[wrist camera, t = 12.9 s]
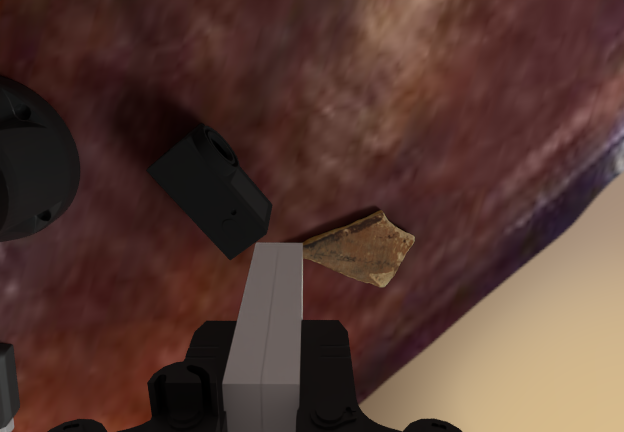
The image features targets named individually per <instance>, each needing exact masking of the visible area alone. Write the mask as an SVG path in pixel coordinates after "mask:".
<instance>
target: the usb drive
mask: <svg viewBox="0 0 624 432" xmlns="http://www.w3.org/2000/svg"><path fill="white" fill-rule="evenodd" d="M19 408H20V401H19V393H18V384H17V375H16V366H15V358H14V349H13V345H12V344H3V343H0V432H11V431H12V430H13V428H14V421H13V417H14V416H15V415H16V413H17V411H18V410H19Z"/></svg>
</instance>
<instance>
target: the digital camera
mask: <svg viewBox="0 0 624 432" xmlns="http://www.w3.org/2000/svg"><path fill="white" fill-rule="evenodd" d="M146 171H147V172H148V173H149V174H150V175H151V176H152V177H153V178H154V179H155V180H156V181H157V183H158V184H159V185H160V186H161V187H162V188H163V189H164V190H165V191H166V192H167V193H168V194H169V196H170V197H171V198H172V199H173V200H174V201H175V202H176V203H177V204H178V205H179V206H180V207H181V208H182V209H183V211H184V212H185V213H186V214H187V215H188V216H189V217H190V218H191V219H192V220H193V221H194V222H195V223H196V225H197V226H198V227H199V228H200V229H201V230H202V231H203V232H204V233H205V234H206V235H207V236H208V237H209V238H210V239H211V241H212V242H213V243H214V244H215V245H216V246H217V247H218V248H219V249H220V250H221V251H222V252H223V253H224V254H225V255H226V257H227V258H228V259H229V260H232V259H233V258H234V257H236V256H237V255H238V254H240V253H241V252H242V251H244V250H245V249H247V248H248V247H249V246H251V245H252V244H253V243H255V242H256V241H258V240H259V239H260V238H262V237H263V236H264V235H266V234H267V230H268V226H269V220H270V215H271V210H272V204H271V202H270V201H269V200H268V199H267V198H266V197H265V195H264V194H263V193H262V192H261V191H260V190H259V188H258V187H257V186H256V185H255V184H254V182H253V181H252V180H251V179H250V178H249V177H248V175H247V174H246V173H245V172H244V171H243V170H242V168H241V167H240V166H239V161H238V159H237V156H236V155H235V153H234V151H233V150H232V148H231V147H230V146H229V144H228V143H227V142H226V141H225V139H224V138H223V137H222V136H221V135H220V134H219V133H218V132H216V131H215V130H214V129H212V128H211V127H209V126H205V125H204V124H203V123H201V124H199V125H198V126H197V127H196V128H195V129H194V130H192V131H191V132H190V133H189V134H187V135H186V136H185V137H184V138H183V139H181V140H180V141H179V142H178V143H176V144H175V145H174V146H173V147H172V148H170V149H169V150H168V151H167V152H166V153H165V154H163V155H162V156H161V157H160V158H159V159H158V160H157V161H156V162H154V163H153V164H152V165H151V166H150V167H149V168H148V169H147V170H146Z"/></svg>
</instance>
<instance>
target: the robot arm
mask: <svg viewBox="0 0 624 432" xmlns="http://www.w3.org/2000/svg"><path fill="white" fill-rule="evenodd" d="M79 180H80V162H79V156H78V151H77V148H76V145H75V142H74V139H73V137H72V135H71V133H70V131H69V129H68V127H67V126H66V124H65V123H64V121H63V120H62V118H61V117H60V116H59V114H58V113H57V112H56V111H55V110H54V109H53V108H52V107H51V106H50V105H49V104H48V103H47V102H46V101H45V100H44V99H43V98H42V97H40V96H39V95H38V94H36V93H35V92H33V91H32V90H30V89H29V88H27V87H25V86H23V85H21V84H19V83H17V82H15V81H13V80H10V79H7V78H4V77H1V76H0V242H4V241H9V240H15V239H20V238H24V237H27V236H30V235H32V234H34V233H37V232H39V231H41V230H42V229H44V228H46V227H47V226H48V225H50V224H51V223H52V222H54V221H55V220H56V219H57V218H59V217H60V216H61V215H62V214H63V213H64V212H65V211H66V210H67V209H68V207H69V206H70V204H71V203H72V201H73V199H74V197H75V195H76V192H77V189H78V185H79ZM302 303H303V243H256V245H255V249H254V253H253V258H252V262H251V266H250V270H249V274H248V278H247V282H246V287H245V291H244V295H243V299H242V303H241V307H240V312H239V316H238V320H237V321H206V322H205V323H204V324H203V325H202V326H200V327H199V328H198V329H197V330H196V331H195V332H194V335H193V337H192V340H191V343H190V347H189V348H188V351H187V354H186V356H185V359H184V361H183V362H176V363H173V364H171V365H168V366H165V367H163V368H162V369H160V370H159V371H157V372H156V373H155V374H153V376H152V377H151V379H150V380H149V381H148V383H147V384H148V391H149V398H150V405H151V412H152V418H151V420H150V421H148V422H146V423H144V424H142V425H139V426H136V427H133V428H130V429H126V430H122V431H118V432H402V431H399V430H395V429H391V428H388V427H385V426H382V425H380V424H377V423H376V422H374V421H372V420H371V419H369V418H368V417H367V416H366V415H365V414H364V413H363V412H362V411H361V409H360V408H359V406H358V403H357V400H356V393H355V385H354V377H353V369H352V362H351V354H350V347H349V338H348V332H347V330H346V329H345V328H344V327H343V325H342V324H341V323H340V322H339V320H302ZM48 432H107V430H106V429H105V427H104V426H103V425H102V424H101V423H99V422H97V421H95V420H92V419H77V420H73V421H69V422H65V423H63V424H61V425H59V426H56V427H54V428H52V429H50V430H49V431H48ZM403 432H462V431H461V430H460V429H459V428H457V427H455V426H453V425H452V424H450V423H448V422H445V421H441V420H437V419H420V420H417V421H415V422H412V423H410V424H409V425H408V426H407V427H406V428H405V430H404V431H403Z"/></svg>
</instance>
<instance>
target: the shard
mask: <svg viewBox="0 0 624 432" xmlns="http://www.w3.org/2000/svg"><path fill="white" fill-rule="evenodd" d="M414 238H415V237H414V236H413V235H411V234H409V233H406V232H404V231H402V230H401V229H399V228H397V227H395V226H394V225H393V224H392V223H390V222H389V221H388V219H387V218H386V216H385V215H384V213H383V211H382V210H380V211H377V212H375V213H374V214H371V215H370V216H368V217H366V218H363V219H361V220H357V221H355V222H354V223H352V224H350V225H347V226H344V227H341V228H337V229H334V230H332V231H329V232H326V233H323V234H321V235H317V236H314V237H312V238H310V239H308V240H306V241H305V242H303V258H306V259H309V260H313V261H314V262H317V263H320V264H322V265H324V266H326V267H328V268H330V269H331V270H334V271H337V272H339V273H342V274H343V275H346V276H348V277H352V278H355V279H356V280H359V281H362V282H365V283H371V284H374V285H376V286H378V287H385V286H386V285H387V284H388V282H389V281H390V279H391V278H392V277H393V276H394V274H395V272H396V270H397V269H398V267H399V265H400V263H401V262H402V260H403V258H404V256H405V255H406V253H407V251H408V250H409V249H410V247H411V246H412V245H413V243H414Z"/></svg>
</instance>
